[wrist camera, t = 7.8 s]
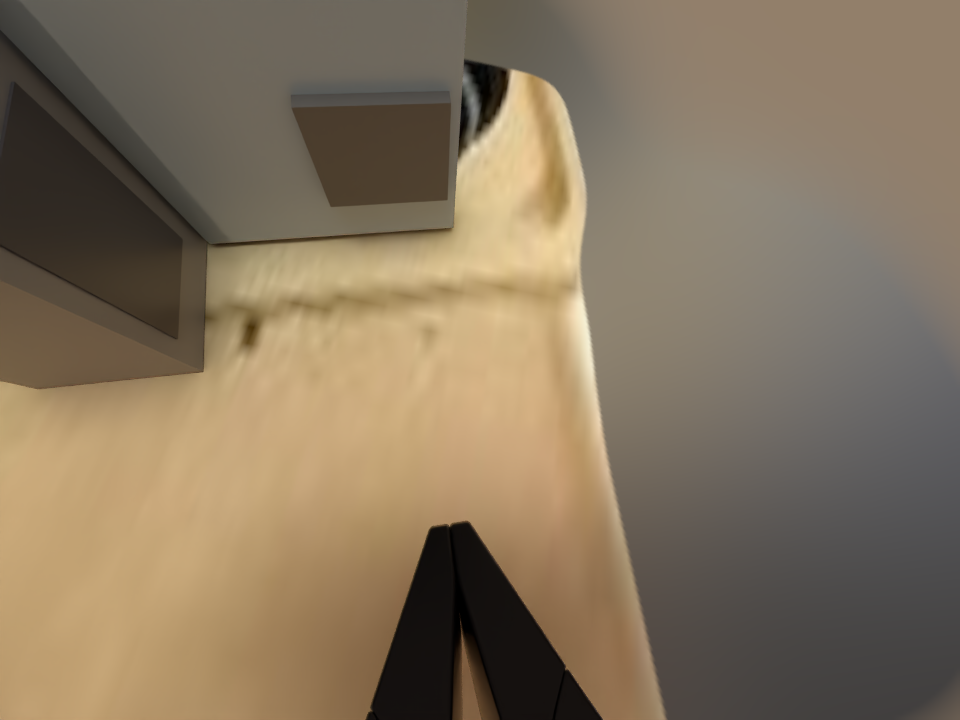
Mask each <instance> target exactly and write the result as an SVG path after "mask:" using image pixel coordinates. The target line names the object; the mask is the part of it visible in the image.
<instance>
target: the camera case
mask: <svg viewBox="0 0 960 720" xmlns="http://www.w3.org/2000/svg"><path fill="white" fill-rule="evenodd" d="M206 256H207V241H206V240H205V239H204V238H203V237H202V236H201V235H200V234H199V233H198V232H197V231H196V230H195V229H194V228H193V227H192V226H191V224H190V223H189V222H188V221H187V220H186V219H185V218H184V217H183V216H182V215H181V214H180V213H179V212H178V211H177V210H176V209H175V208H174V207H173V206H172V205H171V204H170V203H169V202H168V201H167V200H166V199H165V198H164V197H163V196H162V195H161V194H160V193H159V192H158V191H157V190H156V189H155V188H154V187H153V186H152V185H151V184H150V183H149V181H148V180H147V179H146V178H145V177H144V176H143V175H142V174H141V173H140V172H139V171H138V170H137V169H136V168H135V167H134V166H133V165H132V164H131V163H130V162H129V161H128V160H127V159H126V158H125V157H124V156H123V155H122V154H121V153H120V152H119V151H118V150H117V149H116V148H115V147H114V146H113V145H112V144H111V143H110V142H109V141H108V140H107V138H106V137H105V136H104V135H103V134H102V133H101V132H100V131H99V130H98V129H97V128H96V127H95V126H94V125H93V124H92V123H91V122H90V121H89V120H88V119H87V118H86V117H85V116H84V115H83V114H82V113H81V112H80V111H79V110H78V109H77V108H76V107H75V106H74V105H73V104H72V103H71V102H70V101H69V100H68V99H67V98H66V97H65V95H64V94H63V93H62V92H61V91H60V90H59V89H58V88H57V87H56V86H55V85H54V84H53V83H52V82H51V81H50V80H49V79H48V78H47V77H46V76H45V75H44V74H43V73H42V72H41V71H40V70H39V69H38V68H37V67H36V66H35V65H34V64H33V63H32V62H31V61H30V60H29V59H28V58H27V57H26V56H25V55H24V53H23V52H22V51H21V50H20V49H19V48H18V47H17V46H16V45H15V44H14V43H13V42H12V41H11V40H10V39H9V38H8V37H7V36H6V35H5V34H4V33H3V32H2V31H1V30H0V381H3V382H8V383H12V384H17V385H21V386H26V387H31V388H35V389H42V388H52V387H61V386H71V385H81V384H90V383H100V382H109V381H119V380H128V379H138V378H147V377H157V376H167V375H176V374H186V373H195V372H203V354H204V322H205V289H206Z"/></svg>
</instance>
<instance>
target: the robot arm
mask: <svg viewBox="0 0 960 720" xmlns="http://www.w3.org/2000/svg"><path fill="white" fill-rule="evenodd" d="M460 621H461V624H460ZM461 628H462V635H463V640H464V645H465V649H466V654H467V658H468V662H469V666H470V671H471V675H472V679H473V684H474V688H475V692H476V697H477V701H478V705H479V709H480V714H481V718H482V720H603V719H602V717H601V716H600V714H599V713H598V712H597V710H596V709H595V707H594V706H593V705H592V703H591V702H590V700H589V699H588V697H587V696H586V695H585V693H584V692H583V690H582V689H581V687H580V686H579V684H578V683H577V681H576V680H575V678H574V677H573V675H572V674H571V672H570V671H569V670H568V669H566V670H565V668H566V666H565V664H564V662H563V661H562V659H561V658H560V656H559V655H558V653H557V652H556V650H555V649H554V647H553V646H552V644H551V643H550V641H549V640H548V638H547V637H546V635H545V634H544V632H543V631H542V629H541V628H540V626H539V625H538V623H537V622H536V620H535V619H534V617H533V616H532V614H531V613H530V611H529V610H528V608H527V607H526V605H525V604H524V602H523V601H522V599H521V598H520V596H519V595H518V594H517V592H516V591H515V589H514V588H513V586H512V585H511V583H510V582H509V580H508V579H507V577H506V576H505V574H504V573H503V571H502V570H501V568H500V567H499V565H498V564H497V562H496V561H495V559H494V558H493V556H492V555H491V553H490V552H489V550H488V549H487V547H486V546H485V544H484V543H483V541H482V540H481V538H480V537H479V535H478V534H477V532H476V531H475V529H474V528H473V526H472V525H471V523H470V522H468V521H462V522H456V523H452V524H451V525H450V527H449V525H447V524H443V525H437V526H432V527H431V528H430V529H429V531H428V534H427V537H426V540H425V543H424V546H423V549H422V552H421V555H420V558H419V561H418V564H417V567H416V570H415V573H414V576H413V579H412V582H411V585H410V588H409V591H408V594H407V597H406V600H405V603H404V606H403V609H402V612H401V615H400V618H399V621H398V625H397V628H396V631H395V634H394V637H393V640H392V643H391V646H390V649H389V652H388V655H387V658H386V661H385V664H384V667H383V670H382V673H381V676H380V679H379V682H378V685H377V688H376V691H375V694H374V697H373V700H372V703H371V706H370V708H371V711H369V712H368V714H367V717H366V720H463V718H462V637H461Z"/></svg>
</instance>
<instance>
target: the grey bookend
mask: <svg viewBox="0 0 960 720" xmlns="http://www.w3.org/2000/svg"><path fill="white" fill-rule="evenodd" d="M467 1H468V0H0V30H1V31H2V32H3V33H4V34H5V35H6V36H7V37H8V38H9V39H10V40H11V41H12V42H13V43H14V44H15V45H16V46H17V47H18V48H19V49H20V50H21V51H22V52H23V53H24V55H25V56H26V57H27V58H28V59H29V60H30V61H31V62H32V63H33V64H34V65H35V66H36V67H37V68H38V69H39V70H40V71H41V72H42V73H43V74H44V75H45V76H46V77H47V78H48V79H49V80H50V81H51V82H52V83H53V84H54V85H55V86H56V87H57V88H58V89H59V90H60V91H61V92H62V93H63V94H64V95H65V97H66V98H67V99H68V100H69V101H70V102H71V103H72V104H73V105H74V106H75V107H76V108H77V109H78V110H79V111H80V112H81V113H82V114H83V115H84V116H85V117H86V118H87V119H88V120H89V121H90V122H91V123H92V124H93V125H94V126H95V127H96V128H97V129H98V130H99V131H100V132H101V133H102V134H103V135H104V136H105V137H106V138H107V140H108V141H109V142H110V143H111V144H112V145H113V146H114V147H115V148H116V149H117V150H118V151H119V152H120V153H121V154H122V155H123V156H124V157H125V158H126V159H127V160H128V161H129V162H130V163H131V164H132V165H133V166H134V167H135V168H136V169H137V170H138V171H139V172H140V173H141V174H142V175H143V176H144V177H145V178H146V179H147V180H148V181H149V183H150V184H151V185H152V186H153V187H154V188H155V189H156V190H157V191H158V192H159V193H160V194H161V195H162V196H163V197H164V198H165V199H166V200H167V201H168V202H169V203H170V204H171V205H172V206H173V207H174V208H175V209H176V210H177V211H178V212H179V213H180V214H181V215H182V216H183V217H184V218H185V219H186V220H187V221H188V222H189V223H190V224H191V226H192V227H193V228H194V229H195V230H196V231H197V232H198V233H199V234H200V235H201V236H202V237H203V238H204V239H205V240H206V241H207V242H208V243H209V244H218V243H232V242H247V241H262V240H277V239H292V238H307V237H321V236H336V235H351V234H366V233H381V232H395V231H410V230H425V229H440V228H453V223H454V207H455V191H456V175H457V159H458V144H459V128H460V112H461V96H462V80H463V64H464V49H465V33H466V17H467Z"/></svg>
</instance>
